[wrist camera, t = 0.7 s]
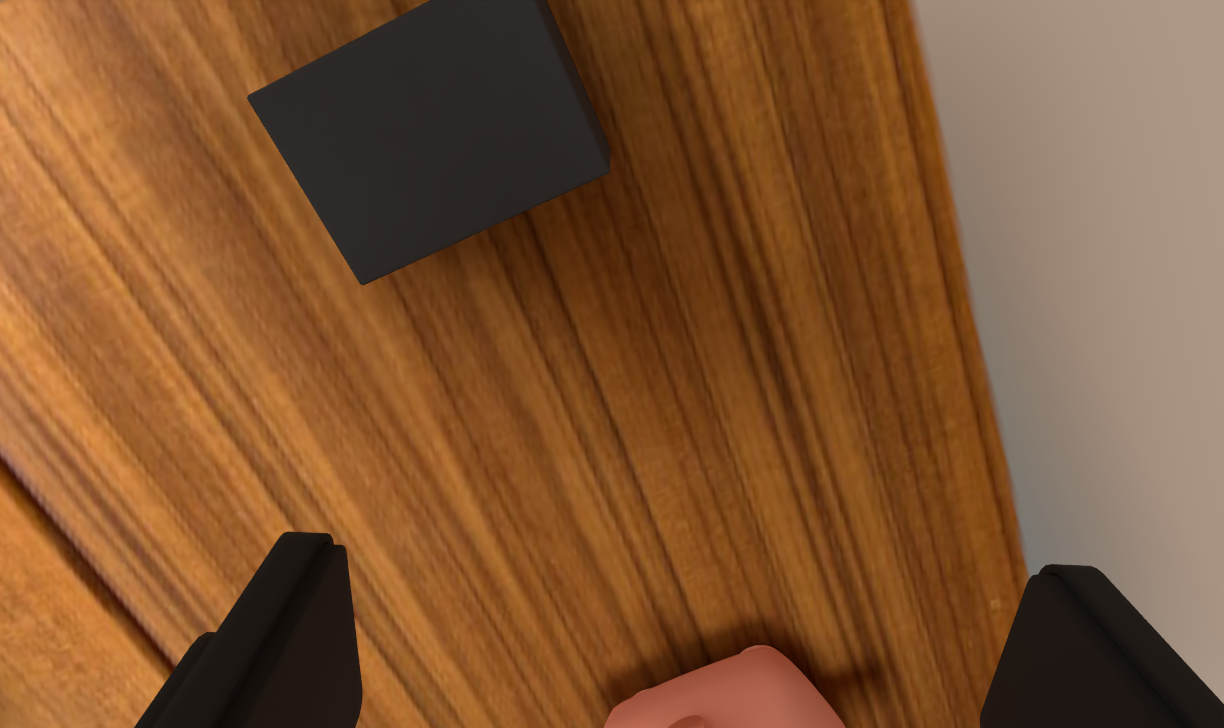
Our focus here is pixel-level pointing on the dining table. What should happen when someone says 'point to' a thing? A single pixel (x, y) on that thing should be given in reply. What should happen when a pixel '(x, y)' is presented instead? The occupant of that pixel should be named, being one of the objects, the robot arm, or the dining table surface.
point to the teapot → (731, 697)
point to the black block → (435, 128)
